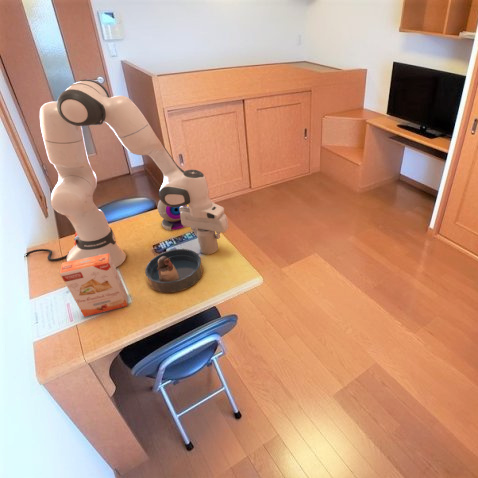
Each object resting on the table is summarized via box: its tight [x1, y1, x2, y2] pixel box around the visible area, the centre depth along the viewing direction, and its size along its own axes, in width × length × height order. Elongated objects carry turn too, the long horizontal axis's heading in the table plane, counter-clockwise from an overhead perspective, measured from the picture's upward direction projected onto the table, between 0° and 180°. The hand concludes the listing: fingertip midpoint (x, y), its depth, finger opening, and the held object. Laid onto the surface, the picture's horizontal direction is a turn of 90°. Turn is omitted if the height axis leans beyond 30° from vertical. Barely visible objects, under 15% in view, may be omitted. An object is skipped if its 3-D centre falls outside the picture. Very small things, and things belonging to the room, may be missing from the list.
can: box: [196, 229, 219, 255], centre depth 150 cm, size 8×8×12 cm
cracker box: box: [59, 253, 129, 318], centre depth 120 cm, size 14×6×21 cm, turn 114°
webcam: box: [157, 199, 188, 231], centre depth 166 cm, size 13×13×15 cm
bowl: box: [144, 248, 204, 294], centre depth 138 cm, size 20×20×6 cm
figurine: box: [157, 256, 180, 282], centre depth 133 cm, size 7×7×12 cm
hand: (207, 236), depth 149 cm, fingers open, 8 cm apart
